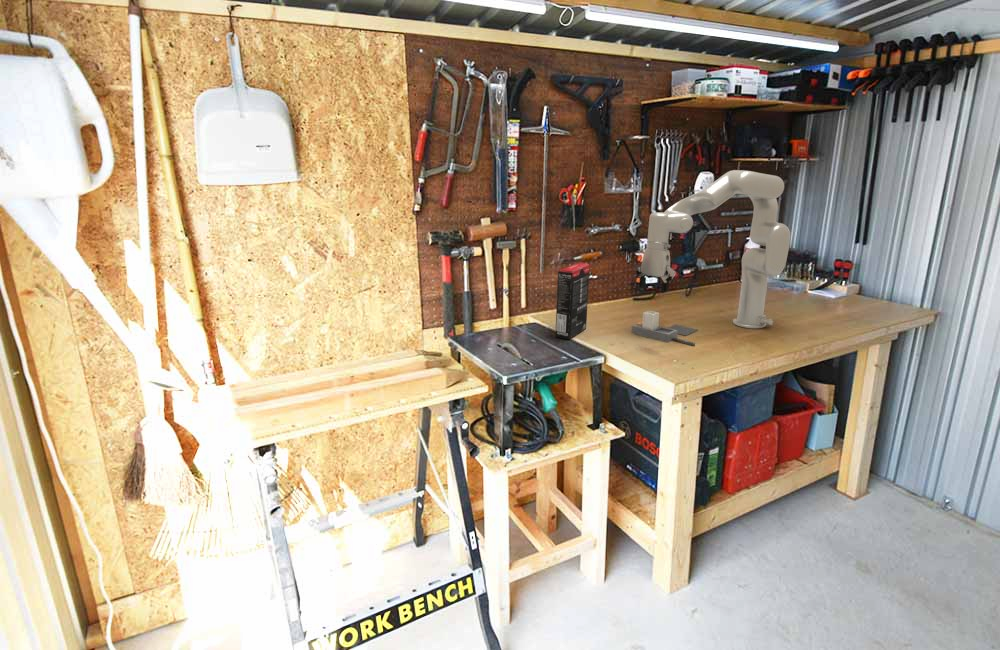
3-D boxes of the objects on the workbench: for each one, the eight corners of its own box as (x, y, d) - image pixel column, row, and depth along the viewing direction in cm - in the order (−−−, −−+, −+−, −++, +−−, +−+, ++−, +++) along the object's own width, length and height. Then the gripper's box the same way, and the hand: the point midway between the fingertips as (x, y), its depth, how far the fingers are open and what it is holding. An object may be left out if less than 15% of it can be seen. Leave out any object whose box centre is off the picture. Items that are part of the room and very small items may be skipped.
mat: (698, 330, 219) (698, 329, 219) (685, 336, 213) (685, 335, 213) (675, 325, 226) (675, 324, 226) (662, 330, 220) (662, 329, 220)
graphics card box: (572, 326, 227) (574, 261, 219) (588, 328, 224) (590, 263, 215) (554, 338, 213) (556, 269, 205) (571, 341, 210) (573, 271, 201)
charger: (657, 329, 214) (659, 311, 212) (651, 332, 212) (653, 314, 209) (648, 327, 218) (649, 309, 215) (642, 329, 215) (643, 312, 213)
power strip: (699, 343, 204) (700, 334, 203) (690, 348, 200) (691, 338, 198) (641, 329, 222) (642, 320, 221) (631, 333, 217) (632, 324, 216)
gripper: (683, 247, 202) (678, 292, 207) (643, 242, 214) (639, 284, 219) (672, 249, 197) (667, 295, 202) (632, 244, 209) (628, 287, 214)
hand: (653, 290), depth 210 cm, fingers open, 9 cm apart
